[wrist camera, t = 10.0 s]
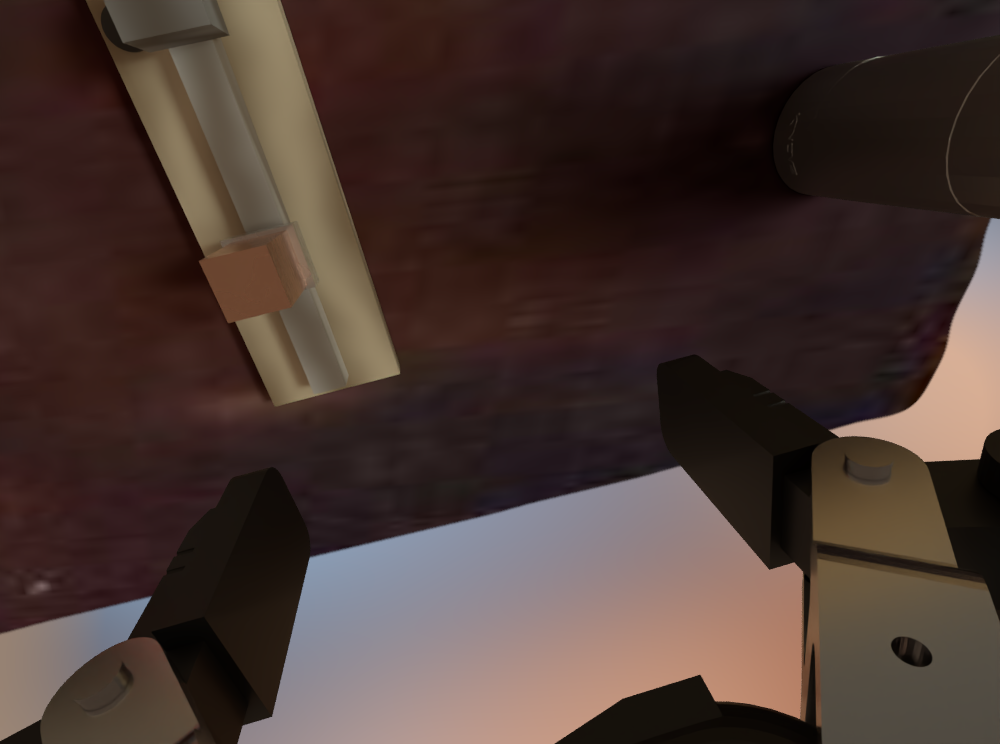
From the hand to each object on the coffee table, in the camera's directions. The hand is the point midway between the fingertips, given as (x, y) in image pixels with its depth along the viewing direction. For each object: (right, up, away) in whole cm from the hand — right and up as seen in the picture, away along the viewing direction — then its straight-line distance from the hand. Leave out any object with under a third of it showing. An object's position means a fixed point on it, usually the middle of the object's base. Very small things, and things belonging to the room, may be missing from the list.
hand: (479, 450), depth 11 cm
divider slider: (-14, +10, +24) cm, 30 cm away
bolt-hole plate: (-16, +14, +24) cm, 32 cm away
